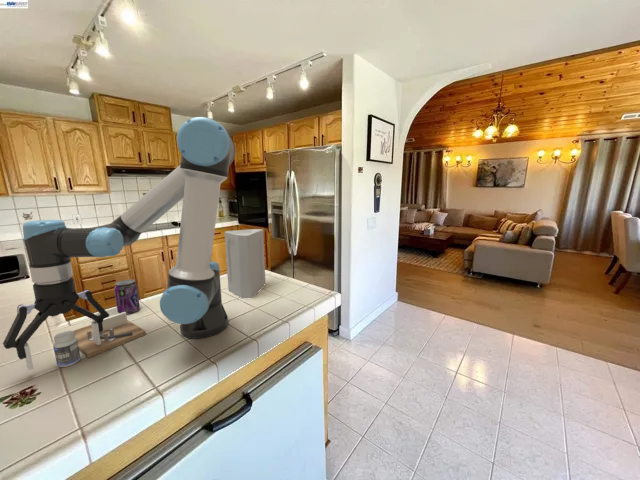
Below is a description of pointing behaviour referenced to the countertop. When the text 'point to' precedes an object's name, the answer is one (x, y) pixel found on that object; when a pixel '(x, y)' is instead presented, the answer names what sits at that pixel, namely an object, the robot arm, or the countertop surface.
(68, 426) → the countertop surface
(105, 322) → the end holder
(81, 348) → the board
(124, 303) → the beverage can
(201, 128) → the robot arm
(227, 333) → the countertop surface
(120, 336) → the cable
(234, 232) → the grey triangular prism
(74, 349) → the pill bottle
